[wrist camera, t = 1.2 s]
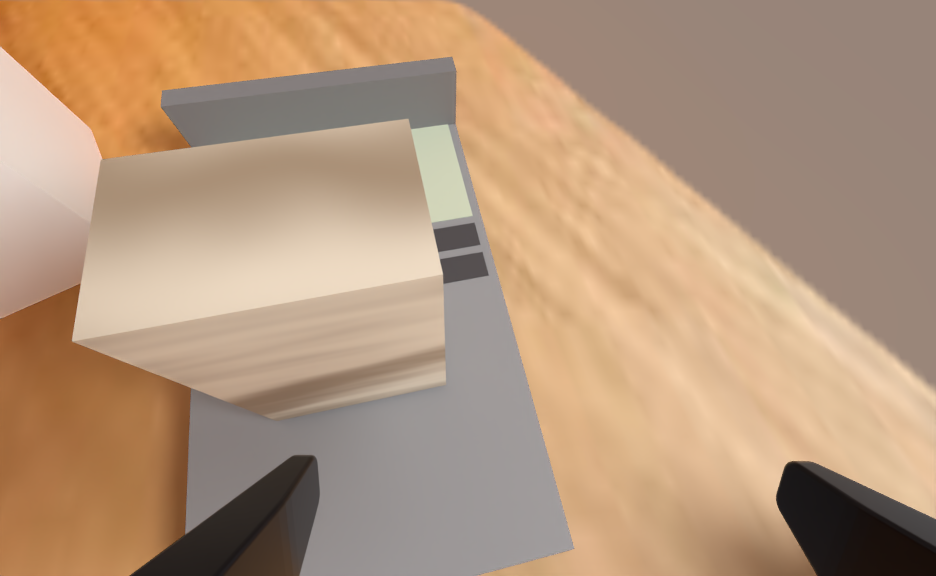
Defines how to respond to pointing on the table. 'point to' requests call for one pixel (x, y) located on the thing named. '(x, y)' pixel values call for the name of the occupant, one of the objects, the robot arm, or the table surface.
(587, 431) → the table surface
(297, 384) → the maple block
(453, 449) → the grey piece
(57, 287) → the milk
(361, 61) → the table surface
